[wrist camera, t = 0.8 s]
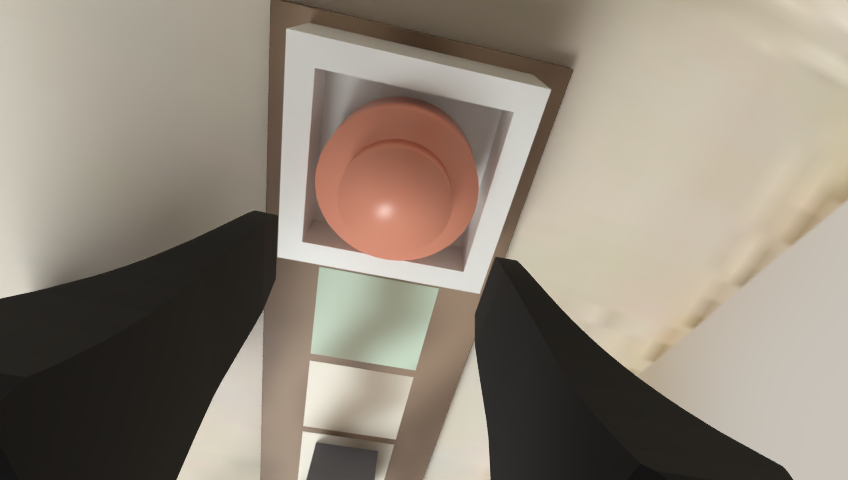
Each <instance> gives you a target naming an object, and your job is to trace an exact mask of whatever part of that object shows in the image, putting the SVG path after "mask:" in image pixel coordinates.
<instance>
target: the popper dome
mask: <svg viewBox="0 0 848 480" xmlns="http://www.w3.org/2000/svg"><path fill="white" fill-rule="evenodd" d="M315 189H316V196H317V200H318V204H319V207H320V209H321V211H322V214H323V216H324V217H325V219H326V221H327V223H328V224H329V225H330V227H331V228H332V229H333V230H334V232H335V233H336V234H337V235H338V236H339V237H340V238H341V239H343V240H344V241H345V242H346V243H348V244H349V245H351V246H352V247H354V248H355V249H357V250H359V251H361V252H363V253H365V254H368V255H371V256H373V257H377V258H381V259H386V260H396V261H405V260H414V259H419V258H424V257H427V256H430V255H432V254H435V253H437V252H439V251H441V250H442V249H444V248H446V247H447V246H449V245H450V244H451V243H453V242H454V241H455V240H456V239H457V238H458V237H459V236H460V235H461V234H462V233H463V231H464V230H465V229H466V227H467V226H468V224H469V223H470V221H471V219H472V217H473V214H474V212H475V209H476V206H477V201H478V193H479V183H478V175H477V170H476V166H475V162H474V158H473V154H472V150H471V147H470V144H469V141H468V140H467V138H466V136H465V134H464V132H463V131H462V129H461V128H460V126H459V125H458V124H457V123H456V122H455V121H454V120H453V119H452V117H450V116H449V115H448V114H447V113H445V112H444V111H443V110H441V109H440V108H438V107H436V106H435V105H432V104H430V103H428V102H426V101H423V100H419V99H416V98H410V97H395V96H394V97H386V98H381V99H377V100H373V101H371V102H369V103H366V104H364V105H362V106H361V107H359V108H357V109H356V110H354V111H353V112H352V113H351V114H349V115H348V116H347V117H346V118H345V119H344V120H343V122H342V123H341V124H340V125H339V127H338V128H337V130H336V131H335V132H334V134H333V135H332V137H331V138H330V140H329V141H328V143H327V144H326V145H325V147H324V149H323V151H322V153H321V155H320V158H319V161H318V164H317V168H316V174H315Z"/></svg>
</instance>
